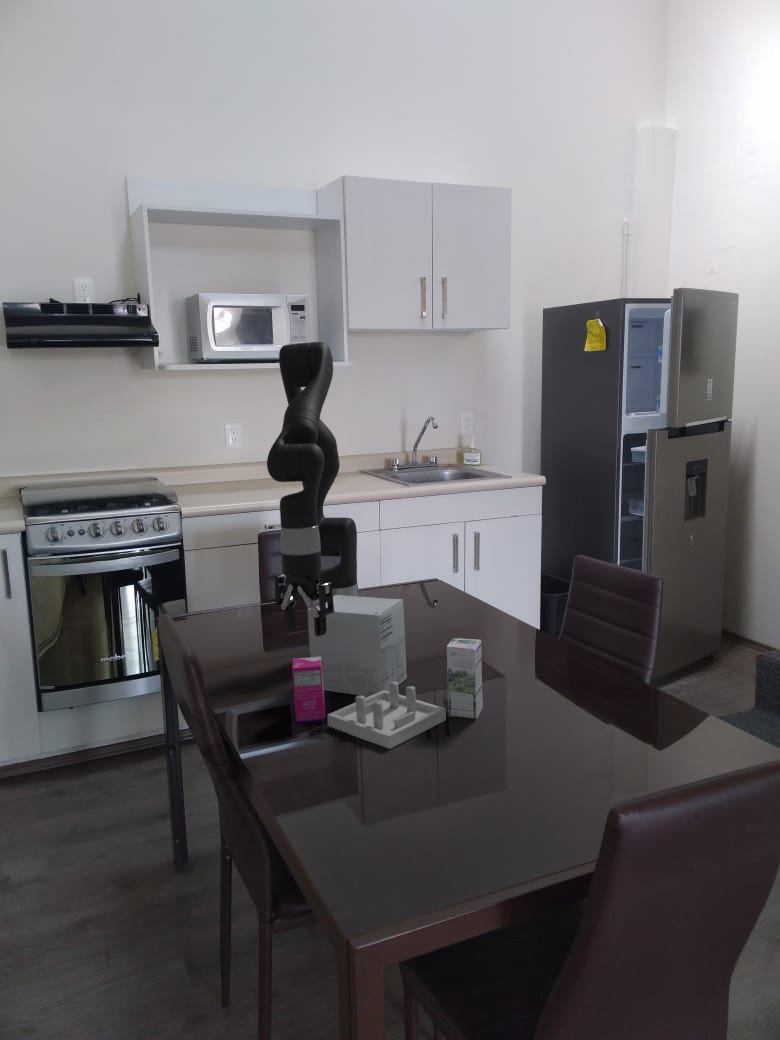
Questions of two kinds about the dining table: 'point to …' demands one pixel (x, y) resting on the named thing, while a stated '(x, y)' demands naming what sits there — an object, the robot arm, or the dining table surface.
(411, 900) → the dining table surface
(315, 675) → the supplement box
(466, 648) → the syrup box
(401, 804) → the dining table surface
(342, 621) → the supplement box
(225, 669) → the dining table surface
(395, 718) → the tray
